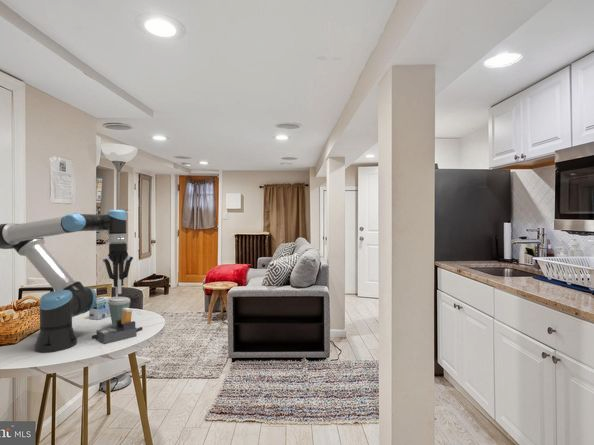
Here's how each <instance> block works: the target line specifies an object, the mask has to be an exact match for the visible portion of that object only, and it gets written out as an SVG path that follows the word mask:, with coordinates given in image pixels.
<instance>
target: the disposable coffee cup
mask: <svg viewBox="0 0 594 445" xmlns="http://www.w3.org/2000/svg"><path fill="white" fill-rule="evenodd" d="M111 297H112V298H110V299H109V301H108V304H109V309H110V315H111V316H110V319H111V326H112V327H116V320H120V319H121V318H122V308H130V306H131V298H130V297H126V296H111Z"/></svg>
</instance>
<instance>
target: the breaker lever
mask: <svg viewBox="0 0 594 445" xmlns="http://www.w3.org/2000/svg"><path fill="white" fill-rule="evenodd" d="M132 314H133V309H132V308H130V307H129V308H122V318H121V324H122V326H123V323H127V322H132Z"/></svg>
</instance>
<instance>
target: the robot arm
mask: <svg viewBox="0 0 594 445" xmlns="http://www.w3.org/2000/svg"><path fill="white" fill-rule="evenodd" d="M127 222H128V221H127V212H126V210H124V209H109V210H108V212H107V213H106V214H101V213H100V214H99V213H98V214H93V213H92V214H90V213H89V214H88V213H76V212H75V213H68V214H65V215H63V216H59V217H51V218H46V219H40V220H36V221H28V222H23V223H13V222H12V223H11V222H9V223H0V249H1V250H12V249H13V250H14V251H16V253H17V254H18V255H19V256H22V257H26V258H27V260H29V262H30V263H31V264H32V265H33V267H34V268H35V269H36V270H37V272H39V274H40V275H41V276H42V277H43V279H44V280H45V281H46V283H48V284H49V286H51V288H52V289H53V290H54V291H49V292H47V293H44V294H43V295H42V296H41V297H40V300H39V306H38V307H39V333H38V336H37V338H36V341H35V344H34V351H36V352H38V353H52V352H53V353H54V352H55V353H56V352H59V351H65V350H68V349H70V348H72V347H74V346H76V345H77V344H78V338H77V334H76V332H75V330H74V328H73V318H74V317H76V316H79V315H83V314H86V313H87V312H89V310H91V309H92V308H93V307H94V306H95V304H96V299H97V298H98V297H97V296H98V295H97V293H96V291H95V290H94V289H93V288H92V287H89V286H84V285H83V284H82V282H80V280H74V278H73V277H72V276H71V275H70V274H69V273H68V272H67V271H66V270H65V268H64V267H63V266H62V264H61V263H59V261H58V260H57V259H56V258H55V256H53V254H52V253H51V252H50V250H48V249H47V247H46V246H45V241H46V240H44V239H45V238H48V237H52V236H53V237H54V236H59V235H65V234H70V233H76V232H90V231H91V232H95V231H97V232H98V231H108V243H109V244H108V255H107V257H105V258H102V261H103V263H104V265H105V269H106V271H107V272H106V273H107V276H108V278H109V279H110V280H112V281H113V287H114V288H115V294H116V295H121V294H122V287H123V286H124V279H125V278H128V277H129V271H130V267H131V264H132V263H131V262H132V261H133V259H134V257H133V256H130V255H129V253H128V244H127V242H128V237H127V234H128V233H127ZM110 261H111V262H112V266H111V263H110ZM124 265H125V266H124Z"/></svg>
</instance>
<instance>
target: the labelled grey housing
mask: <svg viewBox="0 0 594 445" xmlns="http://www.w3.org/2000/svg"><path fill="white" fill-rule="evenodd" d="M137 328H138V327H136V321H135V320H134V321H133V320H131V322H127V323H123V326H122V324H121V319H120V320H116V327H113V326H112V327H111V326H110V327H107V328H103V329H98V330H96V334H95V335H96V338H95V339H96V340H97V341H99V342H100V343H101V344H102V343H103V344H104V345H107V344H111V343H115V342H118V341H124V340H128V339H131V338H132V339H133V338H135V337H137V335H138V334H137V332H138V331H137Z"/></svg>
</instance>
